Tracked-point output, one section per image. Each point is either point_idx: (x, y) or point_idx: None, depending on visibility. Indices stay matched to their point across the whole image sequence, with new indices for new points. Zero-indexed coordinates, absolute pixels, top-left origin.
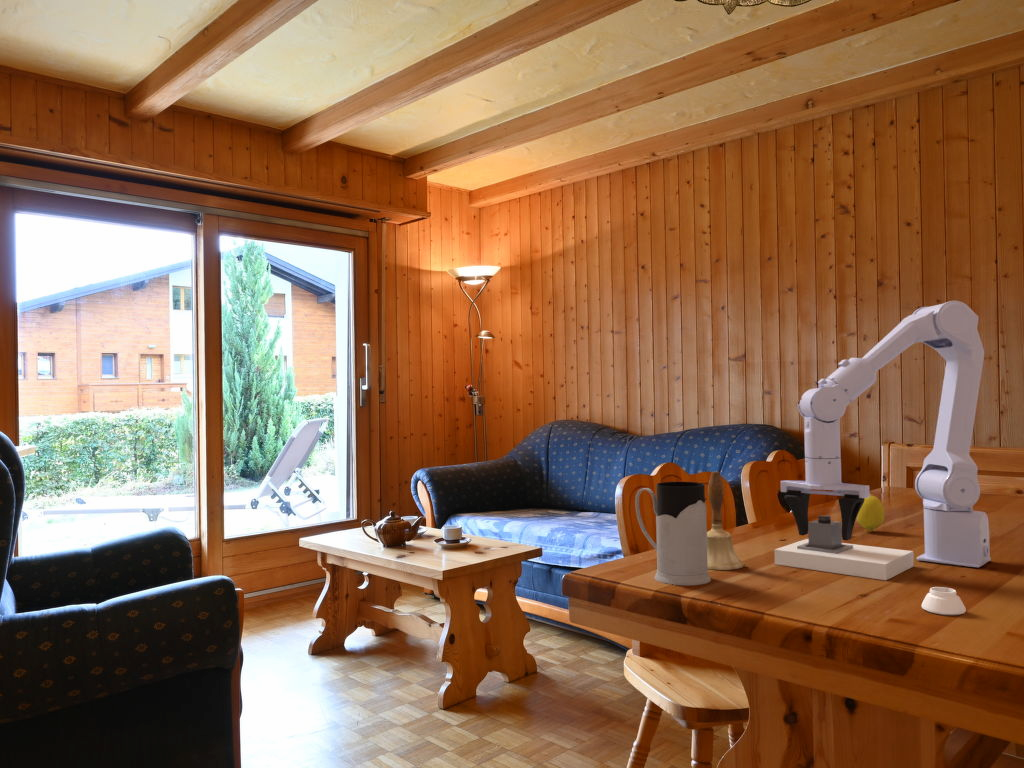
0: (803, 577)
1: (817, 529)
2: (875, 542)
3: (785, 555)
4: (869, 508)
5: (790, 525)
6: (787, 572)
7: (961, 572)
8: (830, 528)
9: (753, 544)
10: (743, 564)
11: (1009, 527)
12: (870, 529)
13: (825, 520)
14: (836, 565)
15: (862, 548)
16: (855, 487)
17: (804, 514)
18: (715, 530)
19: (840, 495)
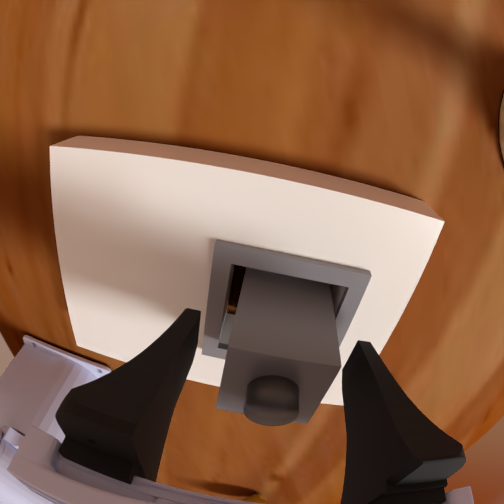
0: (300, 37)
1: (297, 339)
2: (229, 461)
3: (402, 204)
4: None
5: None
6: (368, 91)
7: (24, 299)
8: (235, 334)
9: (455, 392)
10: (501, 138)
11: None
12: (253, 496)
13: (263, 385)
14: (207, 157)
15: None
16: (46, 486)
17: (360, 423)
18: None
19: (160, 484)
